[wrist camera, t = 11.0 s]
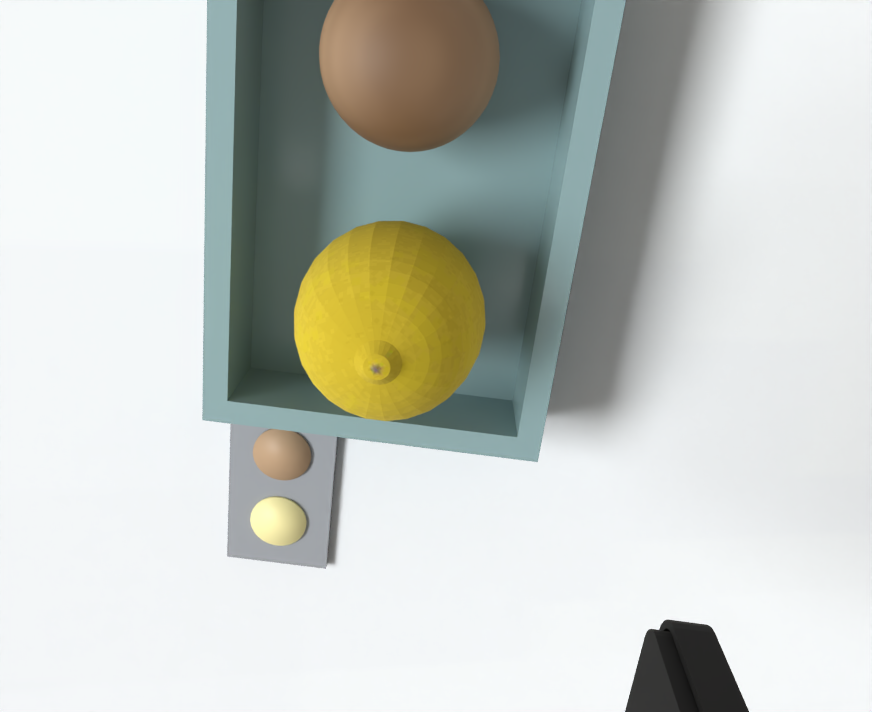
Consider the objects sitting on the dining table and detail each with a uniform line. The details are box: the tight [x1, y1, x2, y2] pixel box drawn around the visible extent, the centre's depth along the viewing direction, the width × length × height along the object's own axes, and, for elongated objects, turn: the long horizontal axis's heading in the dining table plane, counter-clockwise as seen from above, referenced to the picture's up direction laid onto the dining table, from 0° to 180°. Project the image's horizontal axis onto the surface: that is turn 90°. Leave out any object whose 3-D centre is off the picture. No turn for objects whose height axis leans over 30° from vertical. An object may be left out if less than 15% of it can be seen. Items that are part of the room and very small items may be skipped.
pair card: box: [227, 424, 338, 569], centre depth 30 cm, size 4×7×1 cm, turn 173°
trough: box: [203, 0, 626, 462], centre depth 24 cm, size 11×16×4 cm
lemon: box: [294, 221, 486, 421], centre depth 23 cm, size 6×6×8 cm
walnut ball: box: [319, 0, 500, 152], centre depth 21 cm, size 5×5×5 cm
